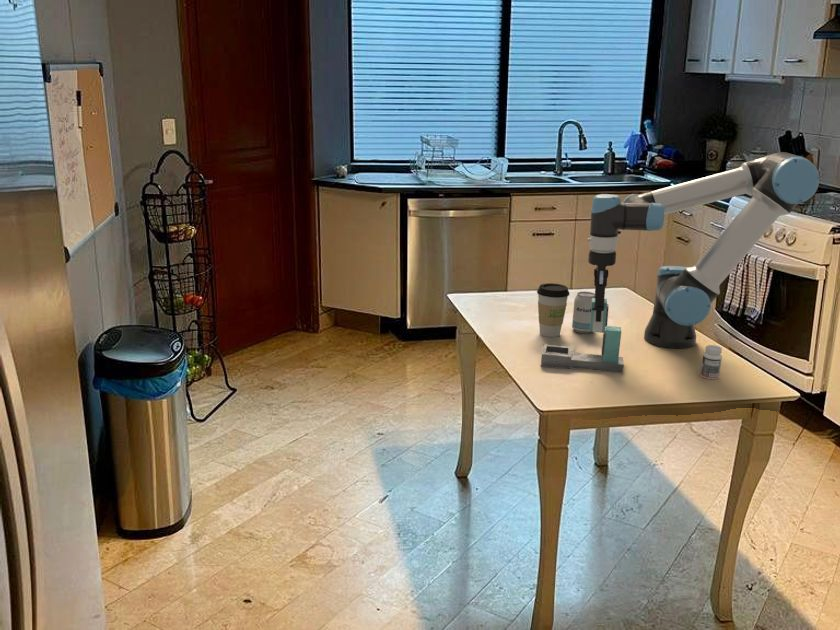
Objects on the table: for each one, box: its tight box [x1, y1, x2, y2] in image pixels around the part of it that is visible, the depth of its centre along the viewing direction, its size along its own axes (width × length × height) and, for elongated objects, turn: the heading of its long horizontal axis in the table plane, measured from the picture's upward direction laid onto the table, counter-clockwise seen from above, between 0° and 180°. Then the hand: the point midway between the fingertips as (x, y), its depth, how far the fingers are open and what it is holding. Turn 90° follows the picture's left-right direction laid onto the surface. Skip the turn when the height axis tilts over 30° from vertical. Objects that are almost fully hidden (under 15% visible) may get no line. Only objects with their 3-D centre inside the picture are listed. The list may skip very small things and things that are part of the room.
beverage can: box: [571, 291, 595, 334], centre depth 248 cm, size 7×7×12 cm
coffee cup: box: [536, 282, 570, 338], centre depth 243 cm, size 10×10×15 cm
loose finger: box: [590, 298, 609, 334], centre depth 230 cm, size 5×4×9 cm
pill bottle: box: [700, 344, 723, 380], centre depth 214 cm, size 5×5×8 cm
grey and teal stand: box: [540, 325, 625, 374], centre depth 219 cm, size 22×8×11 cm, turn 78°
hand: (597, 328), depth 231 cm, fingers closed on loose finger, 4 cm apart
